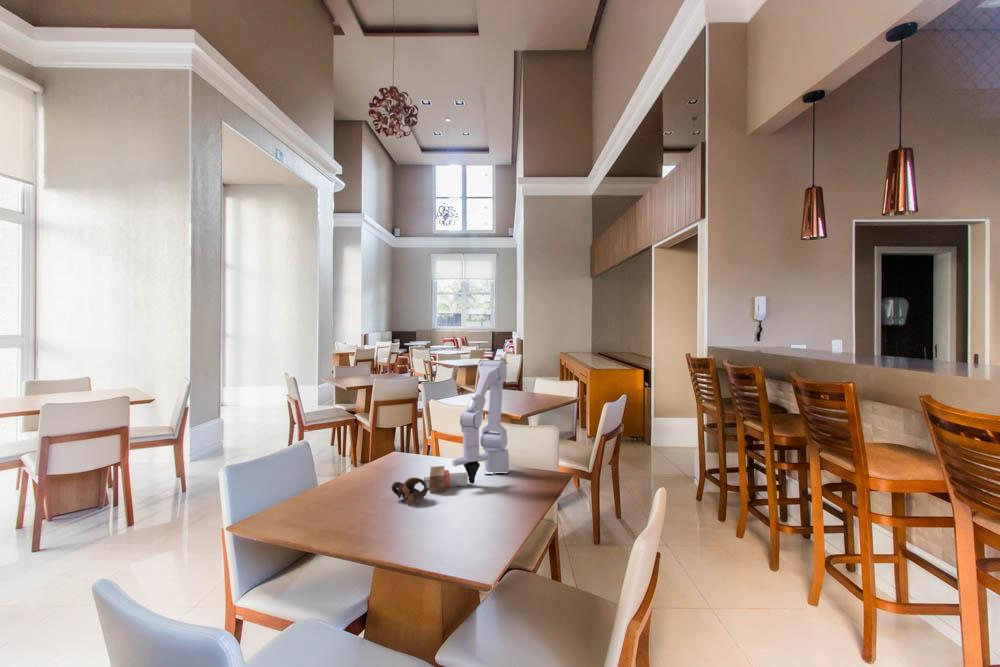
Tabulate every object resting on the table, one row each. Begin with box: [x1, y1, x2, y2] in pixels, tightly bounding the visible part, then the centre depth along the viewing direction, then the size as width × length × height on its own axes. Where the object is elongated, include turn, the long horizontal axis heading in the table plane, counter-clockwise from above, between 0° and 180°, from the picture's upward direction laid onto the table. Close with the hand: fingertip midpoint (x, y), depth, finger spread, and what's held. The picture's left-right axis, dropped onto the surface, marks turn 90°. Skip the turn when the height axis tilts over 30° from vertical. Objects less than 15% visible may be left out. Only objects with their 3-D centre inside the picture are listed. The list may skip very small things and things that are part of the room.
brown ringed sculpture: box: [390, 477, 429, 506], centre depth 156 cm, size 12×10×8 cm
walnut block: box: [429, 465, 446, 494], centre depth 169 cm, size 5×12×6 cm, turn 7°
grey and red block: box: [423, 469, 469, 489], centre depth 170 cm, size 16×6×5 cm, turn 100°
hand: (471, 482), depth 171 cm, fingers closed
